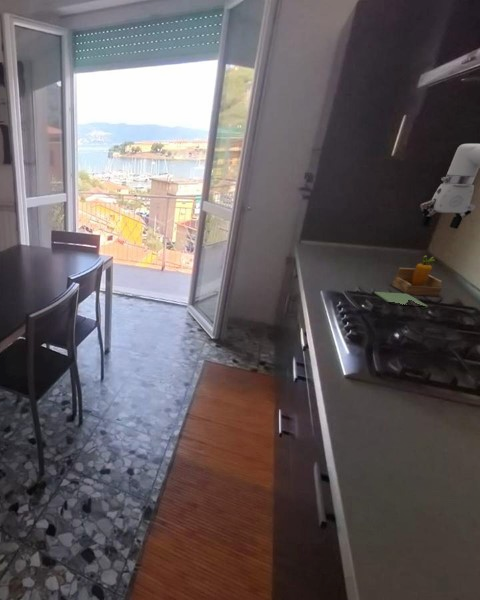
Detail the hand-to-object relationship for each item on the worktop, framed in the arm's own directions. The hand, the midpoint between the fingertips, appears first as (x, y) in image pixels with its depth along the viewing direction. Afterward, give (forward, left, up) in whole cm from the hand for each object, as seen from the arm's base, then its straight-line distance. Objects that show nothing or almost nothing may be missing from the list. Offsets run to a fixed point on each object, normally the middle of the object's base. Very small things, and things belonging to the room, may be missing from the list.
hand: (438, 227), depth 136 cm
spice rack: (0, -1, -26) cm, 26 cm away
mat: (-12, +11, -26) cm, 31 cm away
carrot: (0, -1, -27) cm, 27 cm away
